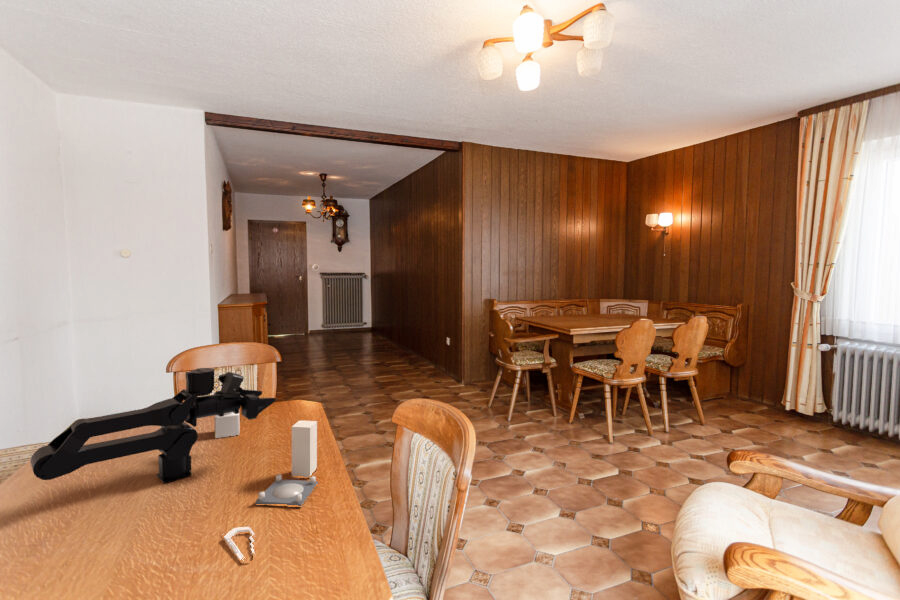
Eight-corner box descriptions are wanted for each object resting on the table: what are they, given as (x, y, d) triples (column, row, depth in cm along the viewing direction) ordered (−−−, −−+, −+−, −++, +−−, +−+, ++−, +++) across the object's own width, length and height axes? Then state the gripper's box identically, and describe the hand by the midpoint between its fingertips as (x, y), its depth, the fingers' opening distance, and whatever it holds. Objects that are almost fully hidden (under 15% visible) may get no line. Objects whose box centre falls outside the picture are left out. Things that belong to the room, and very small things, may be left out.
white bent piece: (269, 560, 87) (269, 551, 87) (242, 571, 84) (243, 563, 83) (244, 527, 96) (245, 520, 96) (220, 537, 93) (220, 529, 93)
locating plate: (301, 508, 104) (301, 497, 104) (255, 505, 105) (255, 494, 104) (318, 485, 115) (318, 475, 115) (276, 482, 116) (276, 473, 115)
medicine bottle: (216, 431, 150) (215, 396, 149) (239, 428, 153) (239, 394, 152) (214, 438, 143) (214, 402, 142) (239, 435, 146) (239, 400, 145)
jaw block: (310, 479, 118) (310, 427, 117) (291, 478, 118) (291, 426, 117) (316, 470, 123) (317, 421, 122) (299, 469, 123) (299, 420, 122)
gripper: (226, 383, 117) (283, 376, 128) (202, 370, 129) (256, 364, 141) (225, 425, 117) (282, 414, 129) (201, 407, 130) (255, 398, 141)
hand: (268, 396), depth 135 cm, fingers open, 9 cm apart
